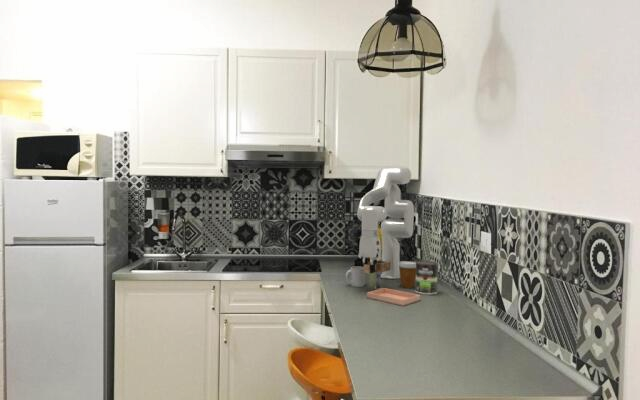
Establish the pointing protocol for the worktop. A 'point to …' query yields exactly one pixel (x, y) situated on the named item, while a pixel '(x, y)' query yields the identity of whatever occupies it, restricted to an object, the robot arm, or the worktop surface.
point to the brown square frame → (377, 267)
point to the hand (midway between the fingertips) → (369, 271)
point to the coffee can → (426, 277)
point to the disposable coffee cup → (407, 273)
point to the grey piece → (378, 281)
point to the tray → (393, 296)
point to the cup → (356, 276)
